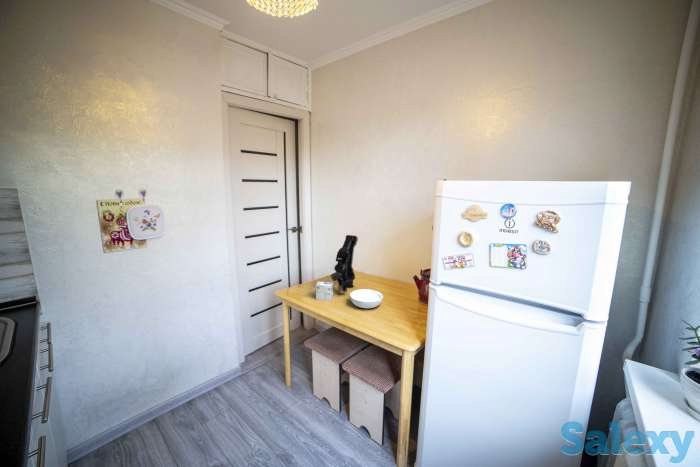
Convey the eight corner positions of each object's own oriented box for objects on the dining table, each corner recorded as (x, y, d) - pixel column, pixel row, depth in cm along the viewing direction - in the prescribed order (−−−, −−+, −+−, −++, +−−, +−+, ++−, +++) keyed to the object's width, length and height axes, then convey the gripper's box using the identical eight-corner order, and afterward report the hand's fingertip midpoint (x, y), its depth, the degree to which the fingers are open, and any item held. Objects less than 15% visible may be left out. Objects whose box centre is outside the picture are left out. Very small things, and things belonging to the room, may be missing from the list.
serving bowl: (379, 314, 163) (379, 303, 162) (345, 309, 169) (345, 298, 168) (385, 300, 183) (385, 291, 182) (354, 296, 189) (355, 287, 188)
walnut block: (344, 289, 195) (344, 284, 195) (347, 292, 191) (347, 286, 190) (337, 290, 193) (337, 285, 192) (340, 293, 189) (340, 287, 188)
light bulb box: (333, 296, 188) (333, 281, 186) (331, 300, 181) (331, 285, 180) (317, 295, 189) (317, 281, 187) (315, 299, 182) (315, 284, 181)
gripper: (326, 266, 194) (326, 287, 196) (338, 273, 177) (337, 296, 180) (340, 264, 199) (340, 284, 201) (353, 271, 182) (352, 293, 185)
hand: (342, 289), depth 192 cm, fingers closed on walnut block, 5 cm apart
